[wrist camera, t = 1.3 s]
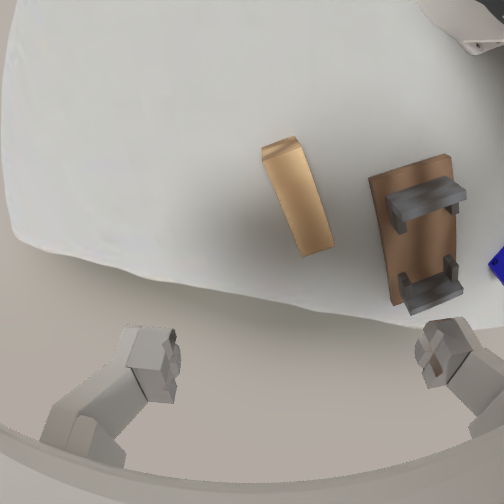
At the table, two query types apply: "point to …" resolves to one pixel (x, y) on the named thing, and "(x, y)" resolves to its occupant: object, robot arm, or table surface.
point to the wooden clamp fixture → (419, 231)
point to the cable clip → (498, 265)
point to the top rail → (297, 195)
